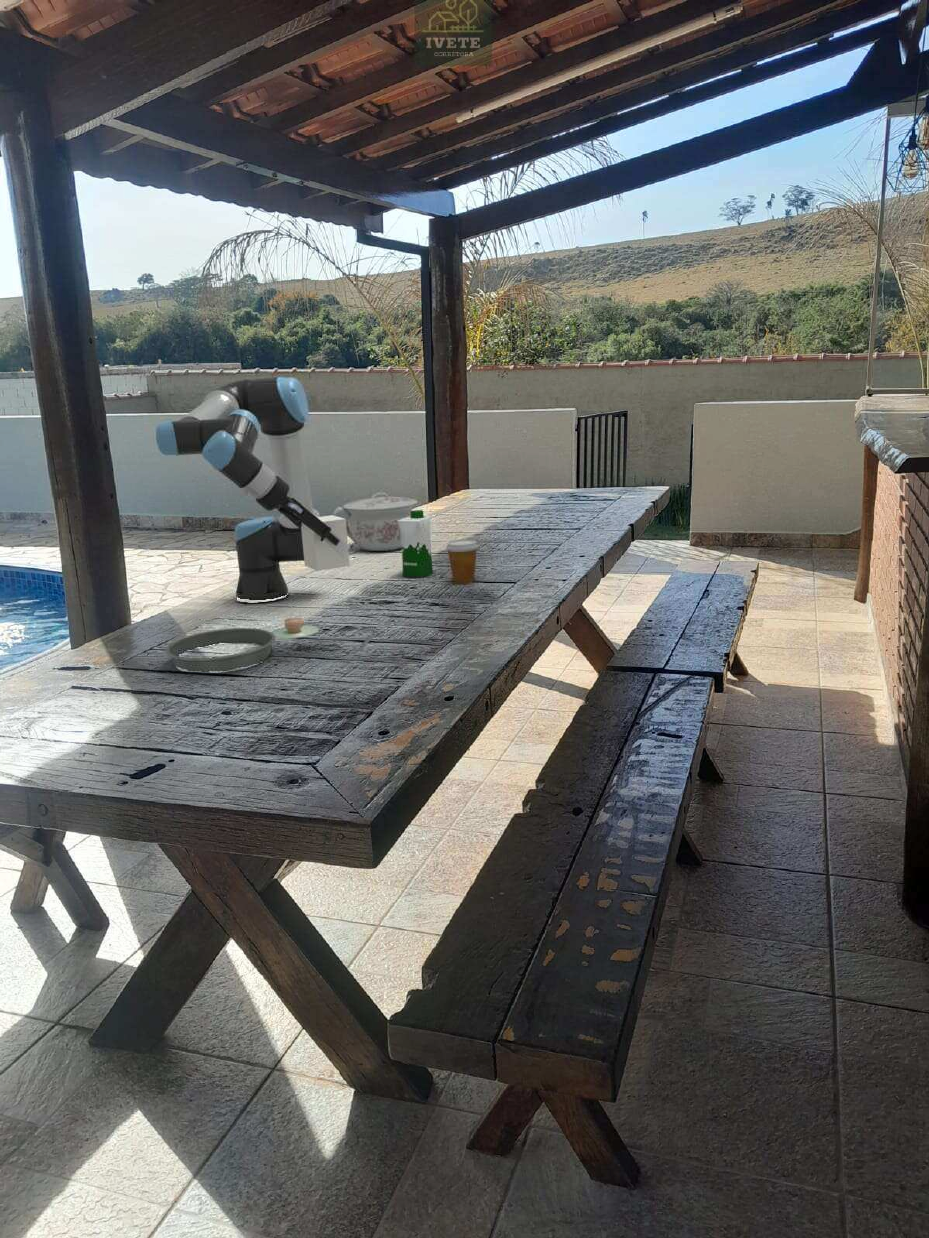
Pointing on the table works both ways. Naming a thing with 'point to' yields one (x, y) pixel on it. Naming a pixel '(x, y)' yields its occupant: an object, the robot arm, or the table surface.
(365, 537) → the chamber pot
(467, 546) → the disposable coffee cup
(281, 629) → the plate
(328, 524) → the white upright block
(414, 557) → the milk carton
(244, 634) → the hoop
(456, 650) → the table surface
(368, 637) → the mat
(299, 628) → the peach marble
